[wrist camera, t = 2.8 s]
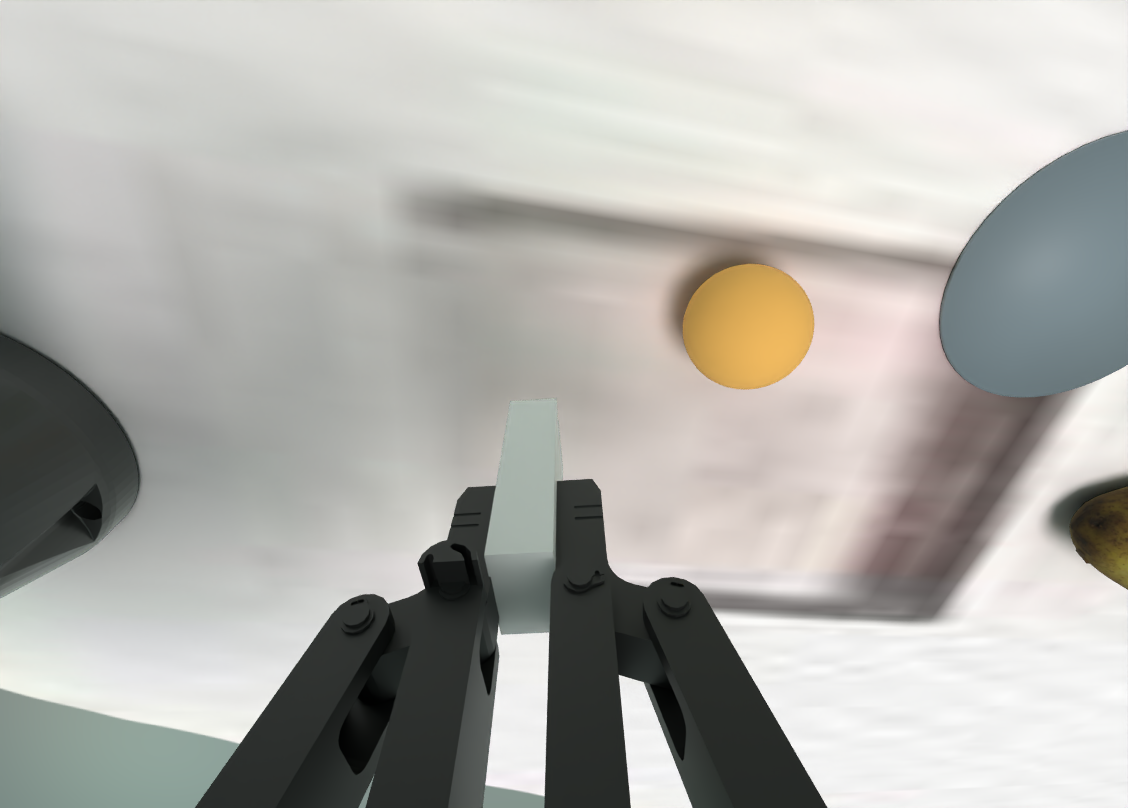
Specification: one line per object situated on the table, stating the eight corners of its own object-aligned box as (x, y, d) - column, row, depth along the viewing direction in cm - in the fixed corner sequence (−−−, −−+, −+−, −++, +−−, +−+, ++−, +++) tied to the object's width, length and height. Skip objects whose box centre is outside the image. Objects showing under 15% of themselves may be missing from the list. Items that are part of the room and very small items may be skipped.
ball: (685, 369, 28) (712, 427, 23) (660, 272, 25) (685, 315, 20) (791, 337, 27) (842, 390, 22) (777, 232, 24) (832, 267, 19)
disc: (936, 423, 30) (939, 425, 29) (942, 191, 23) (945, 192, 23) (1198, 352, 27) (1202, 354, 27) (1284, 76, 21) (1290, 76, 21)
